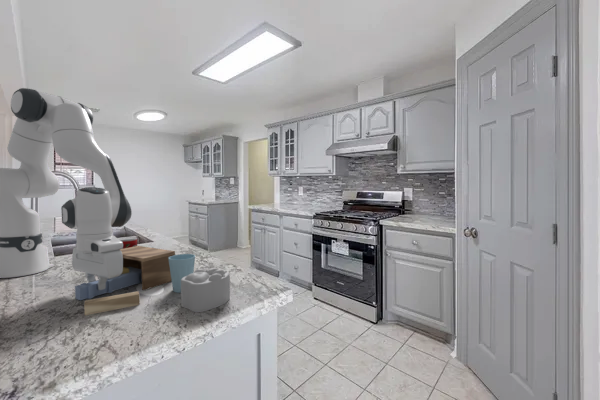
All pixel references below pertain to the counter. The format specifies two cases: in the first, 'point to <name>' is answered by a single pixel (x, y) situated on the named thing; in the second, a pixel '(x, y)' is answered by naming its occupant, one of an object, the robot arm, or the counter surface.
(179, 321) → the counter surface
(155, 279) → the box
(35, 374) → the counter surface
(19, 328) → the counter surface
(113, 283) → the crook
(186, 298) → the lumpy-topped squat cylinder
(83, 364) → the counter surface
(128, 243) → the canned food
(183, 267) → the cup
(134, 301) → the beech stick
